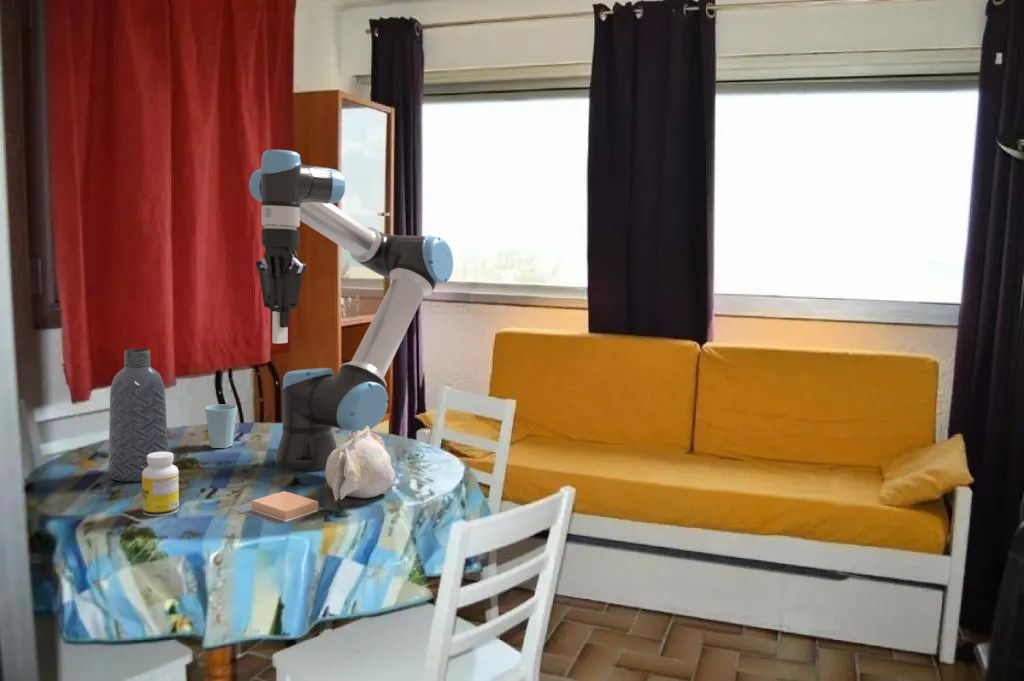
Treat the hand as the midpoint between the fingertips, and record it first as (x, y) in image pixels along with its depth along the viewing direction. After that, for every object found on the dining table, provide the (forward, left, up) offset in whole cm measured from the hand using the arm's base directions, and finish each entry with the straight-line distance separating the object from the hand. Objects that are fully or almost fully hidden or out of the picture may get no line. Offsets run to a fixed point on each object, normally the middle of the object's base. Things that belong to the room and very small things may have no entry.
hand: (280, 342), depth 161 cm
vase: (-34, -11, -33) cm, 48 cm away
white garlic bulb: (+12, +9, -33) cm, 36 cm away
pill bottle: (-8, -22, -33) cm, 40 cm away
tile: (+5, -7, -31) cm, 32 cm away
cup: (-42, +16, -33) cm, 56 cm away
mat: (+8, -7, -32) cm, 34 cm away
